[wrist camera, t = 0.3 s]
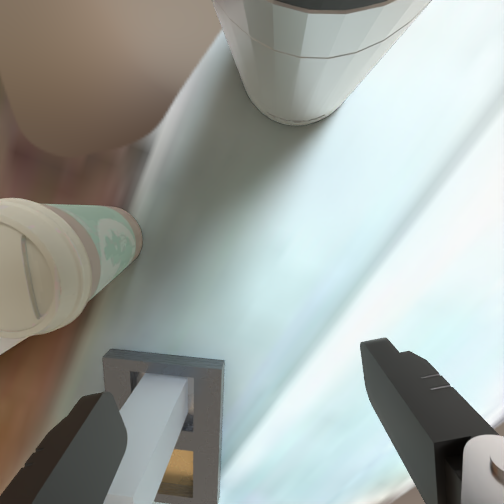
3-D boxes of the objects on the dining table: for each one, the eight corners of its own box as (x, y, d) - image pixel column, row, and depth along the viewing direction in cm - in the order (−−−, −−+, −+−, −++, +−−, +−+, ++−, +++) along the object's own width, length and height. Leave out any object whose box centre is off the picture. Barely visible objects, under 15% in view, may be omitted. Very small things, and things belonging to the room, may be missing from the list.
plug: (145, 372, 31) (53, 507, 18) (187, 376, 31) (123, 517, 18) (146, 408, 32) (61, 559, 20) (187, 413, 32) (127, 569, 19)
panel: (110, 349, 31) (102, 357, 30) (224, 360, 30) (221, 369, 29) (120, 482, 36) (113, 495, 34) (219, 496, 35) (217, 510, 33)
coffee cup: (132, 295, 29) (37, 373, 18) (56, 248, 29) (-93, 296, 17) (173, 224, 27) (95, 258, 16) (92, 171, 27) (-51, 167, 15)
